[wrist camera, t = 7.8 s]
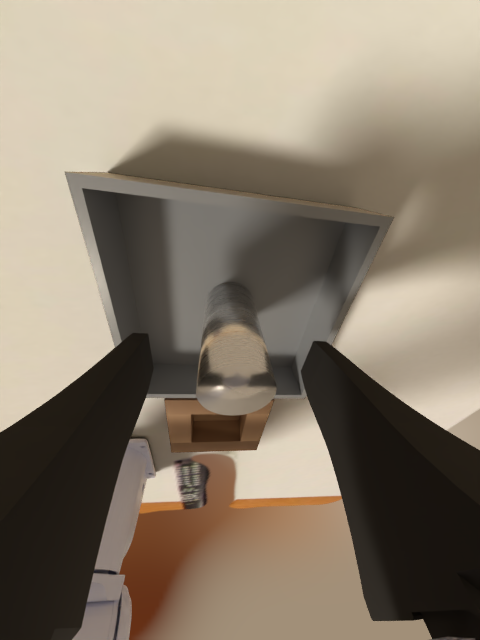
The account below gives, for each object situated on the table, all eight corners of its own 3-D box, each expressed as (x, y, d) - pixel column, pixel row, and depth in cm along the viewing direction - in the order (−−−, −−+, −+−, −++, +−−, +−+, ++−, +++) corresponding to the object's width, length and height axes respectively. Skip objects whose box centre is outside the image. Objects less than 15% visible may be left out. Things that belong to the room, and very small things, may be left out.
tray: (293, 367, 18) (305, 398, 15) (143, 363, 16) (129, 397, 13) (354, 207, 11) (394, 217, 8) (105, 172, 9) (64, 171, 7)
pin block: (253, 424, 22) (256, 450, 20) (176, 425, 21) (171, 452, 19) (267, 374, 18) (273, 400, 16) (171, 372, 17) (164, 400, 15)
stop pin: (250, 324, 14) (268, 415, 9) (205, 322, 14) (195, 416, 8) (257, 283, 12) (285, 365, 7) (206, 280, 12) (196, 363, 7)
